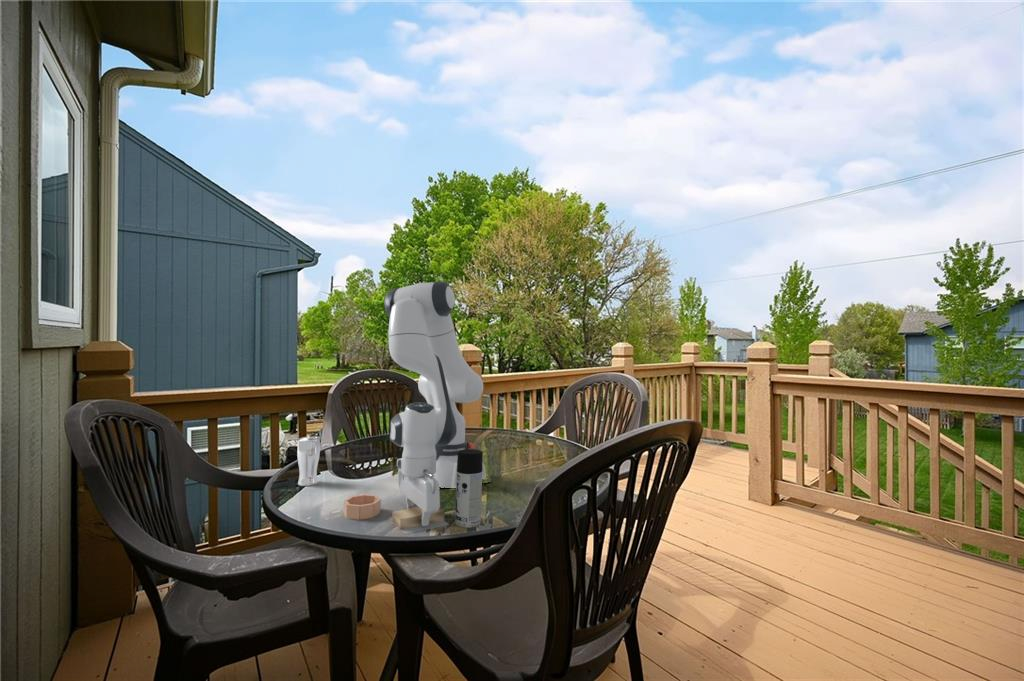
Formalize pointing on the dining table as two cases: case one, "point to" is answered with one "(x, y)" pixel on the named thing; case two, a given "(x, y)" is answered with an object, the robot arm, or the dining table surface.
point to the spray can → (469, 488)
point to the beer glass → (308, 460)
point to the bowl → (362, 507)
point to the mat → (423, 527)
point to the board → (414, 517)
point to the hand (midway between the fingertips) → (417, 518)
